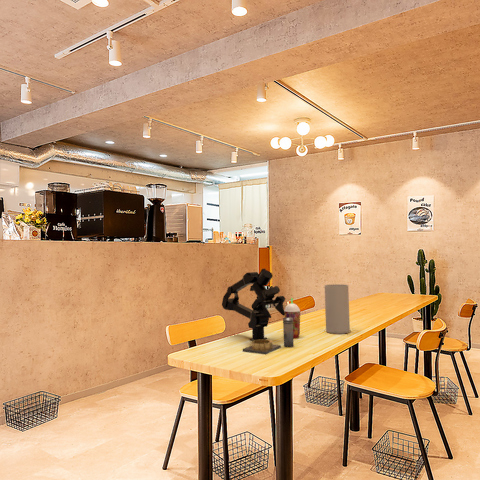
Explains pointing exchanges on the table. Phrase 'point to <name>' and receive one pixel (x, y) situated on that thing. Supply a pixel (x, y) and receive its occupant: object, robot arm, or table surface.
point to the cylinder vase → (337, 309)
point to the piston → (288, 332)
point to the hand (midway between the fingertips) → (277, 316)
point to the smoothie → (294, 313)
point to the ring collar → (261, 346)
